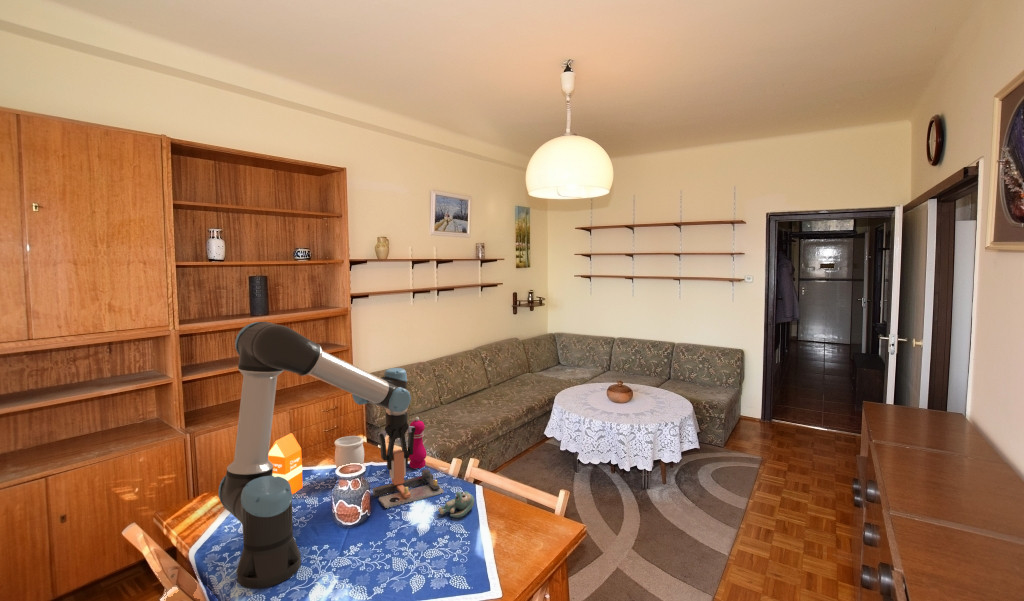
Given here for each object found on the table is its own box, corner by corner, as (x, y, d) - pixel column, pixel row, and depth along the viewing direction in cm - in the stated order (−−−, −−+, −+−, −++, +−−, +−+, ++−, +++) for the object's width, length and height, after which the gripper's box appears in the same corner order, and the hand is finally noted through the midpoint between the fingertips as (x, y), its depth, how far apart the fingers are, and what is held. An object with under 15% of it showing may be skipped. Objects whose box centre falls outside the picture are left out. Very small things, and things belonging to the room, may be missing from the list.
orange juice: (267, 496, 169) (265, 440, 167) (284, 485, 178) (282, 431, 176) (286, 498, 167) (284, 442, 166) (303, 487, 176) (301, 433, 174)
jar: (370, 477, 184) (369, 438, 183) (348, 488, 175) (347, 447, 174) (352, 470, 190) (351, 433, 189) (329, 480, 181) (328, 441, 180)
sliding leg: (412, 496, 166) (412, 460, 165) (403, 498, 165) (402, 462, 164) (400, 482, 176) (400, 449, 175) (391, 485, 174) (390, 451, 173)
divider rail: (443, 490, 173) (443, 478, 173) (382, 507, 161) (382, 494, 161) (431, 479, 182) (431, 468, 182) (372, 494, 170) (372, 482, 170)
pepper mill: (430, 465, 195) (429, 416, 193) (415, 471, 190) (414, 421, 188) (419, 460, 200) (418, 412, 198) (404, 465, 195) (404, 417, 193)
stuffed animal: (432, 492, 161) (466, 479, 165) (436, 512, 162) (469, 498, 166) (441, 507, 151) (476, 493, 156) (445, 528, 152) (481, 513, 157)
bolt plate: (443, 493, 172) (443, 490, 172) (385, 509, 160) (385, 506, 160) (435, 485, 178) (435, 482, 177) (378, 500, 166) (378, 497, 166)
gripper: (414, 405, 179) (415, 467, 181) (370, 413, 170) (371, 477, 172) (422, 411, 173) (423, 474, 175) (376, 419, 164) (377, 486, 166)
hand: (397, 476), depth 174 cm, fingers closed on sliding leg, 3 cm apart
